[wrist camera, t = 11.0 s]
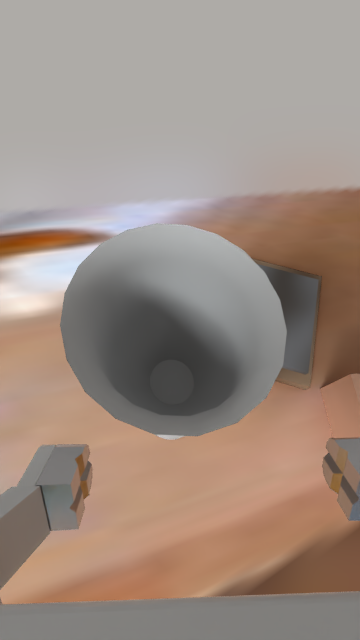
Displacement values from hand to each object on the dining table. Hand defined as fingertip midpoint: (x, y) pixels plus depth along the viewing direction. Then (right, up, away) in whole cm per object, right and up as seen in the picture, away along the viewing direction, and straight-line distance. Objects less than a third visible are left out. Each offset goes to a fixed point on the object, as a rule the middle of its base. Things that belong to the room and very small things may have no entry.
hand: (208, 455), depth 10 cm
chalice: (-2, -3, +15) cm, 16 cm away
